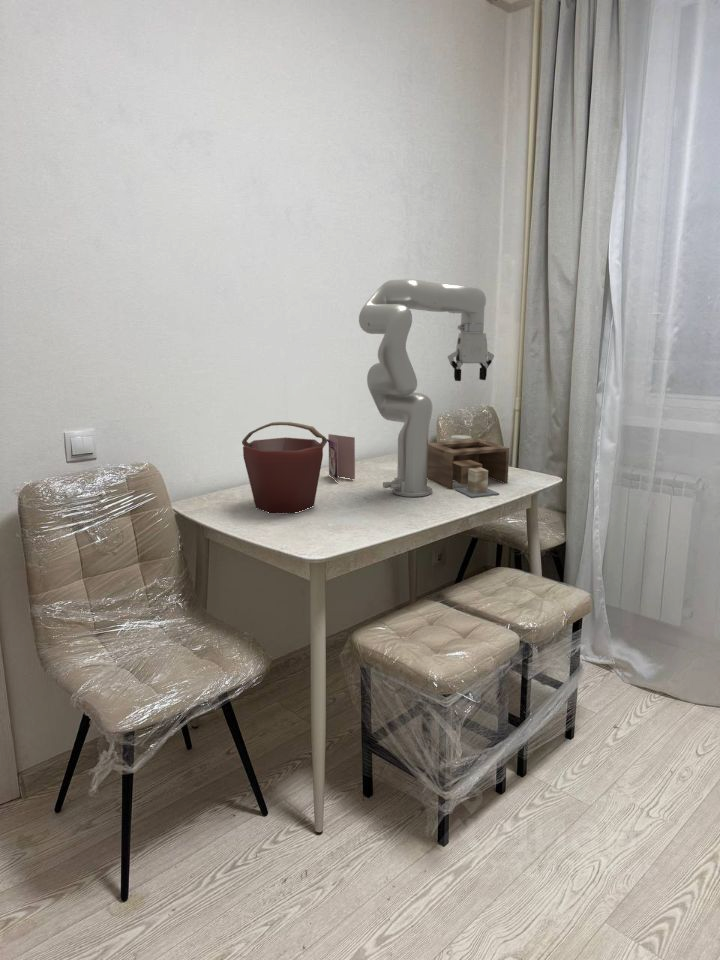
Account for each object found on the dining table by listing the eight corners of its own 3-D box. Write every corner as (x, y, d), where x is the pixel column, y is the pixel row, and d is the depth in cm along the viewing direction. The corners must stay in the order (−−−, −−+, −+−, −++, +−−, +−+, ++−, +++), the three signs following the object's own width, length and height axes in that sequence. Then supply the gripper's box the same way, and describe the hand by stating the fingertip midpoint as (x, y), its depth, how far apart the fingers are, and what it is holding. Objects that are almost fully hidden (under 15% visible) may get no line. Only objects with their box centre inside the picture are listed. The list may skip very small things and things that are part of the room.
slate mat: (471, 498, 205) (471, 496, 205) (455, 490, 214) (455, 488, 214) (499, 494, 209) (499, 493, 209) (482, 487, 218) (482, 486, 218)
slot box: (449, 489, 216) (450, 452, 213) (424, 477, 232) (425, 443, 229) (507, 483, 224) (509, 448, 221) (479, 471, 240) (480, 439, 237)
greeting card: (326, 476, 234) (326, 434, 230) (346, 474, 236) (346, 433, 232) (335, 483, 223) (335, 439, 220) (356, 482, 225) (356, 438, 222)
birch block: (474, 493, 209) (475, 471, 207) (467, 490, 213) (468, 468, 211) (487, 492, 210) (488, 470, 209) (479, 488, 214) (480, 467, 213)
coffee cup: (444, 467, 247) (445, 435, 245) (465, 465, 250) (466, 434, 247) (454, 472, 240) (455, 439, 237) (475, 470, 242) (477, 438, 239)
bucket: (338, 501, 202) (337, 419, 196) (305, 521, 182) (303, 431, 176) (267, 493, 211) (264, 415, 205) (228, 512, 191) (224, 425, 185)
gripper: (454, 329, 216) (453, 382, 220) (500, 328, 222) (498, 380, 226) (443, 328, 223) (442, 380, 227) (488, 328, 229) (486, 378, 233)
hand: (470, 380), depth 227 cm, fingers open, 9 cm apart
